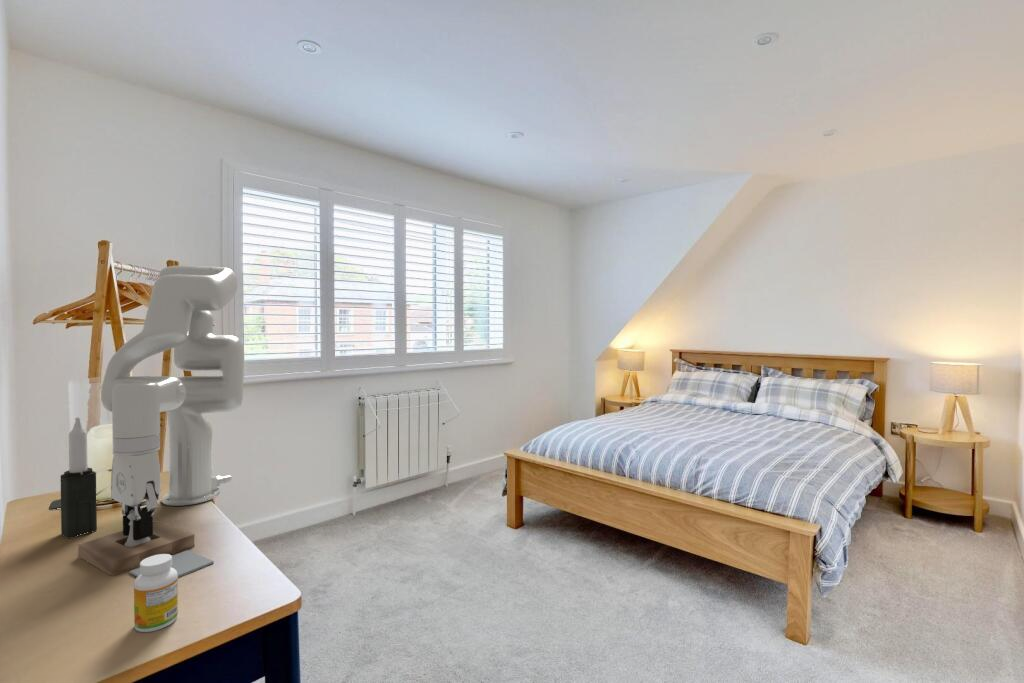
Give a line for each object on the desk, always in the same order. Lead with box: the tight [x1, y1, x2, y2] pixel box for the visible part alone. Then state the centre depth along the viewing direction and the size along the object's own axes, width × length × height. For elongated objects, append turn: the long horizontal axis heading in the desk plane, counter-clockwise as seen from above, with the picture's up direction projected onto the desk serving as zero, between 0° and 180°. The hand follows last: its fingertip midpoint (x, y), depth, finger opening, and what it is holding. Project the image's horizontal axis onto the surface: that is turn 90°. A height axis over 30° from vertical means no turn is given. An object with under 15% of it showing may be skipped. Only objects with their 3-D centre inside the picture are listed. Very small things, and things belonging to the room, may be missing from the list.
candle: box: [60, 417, 98, 539], centre depth 107 cm, size 5×5×25 cm
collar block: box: [77, 520, 195, 577], centre depth 99 cm, size 14×14×2 cm
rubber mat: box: [128, 549, 215, 578], centre depth 92 cm, size 10×9×1 cm
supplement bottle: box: [133, 554, 179, 633], centre depth 75 cm, size 5×5×10 cm
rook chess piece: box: [124, 507, 151, 548], centre depth 98 cm, size 4×4×8 cm
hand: (137, 534), depth 99 cm, fingers closed on rook chess piece, 3 cm apart
